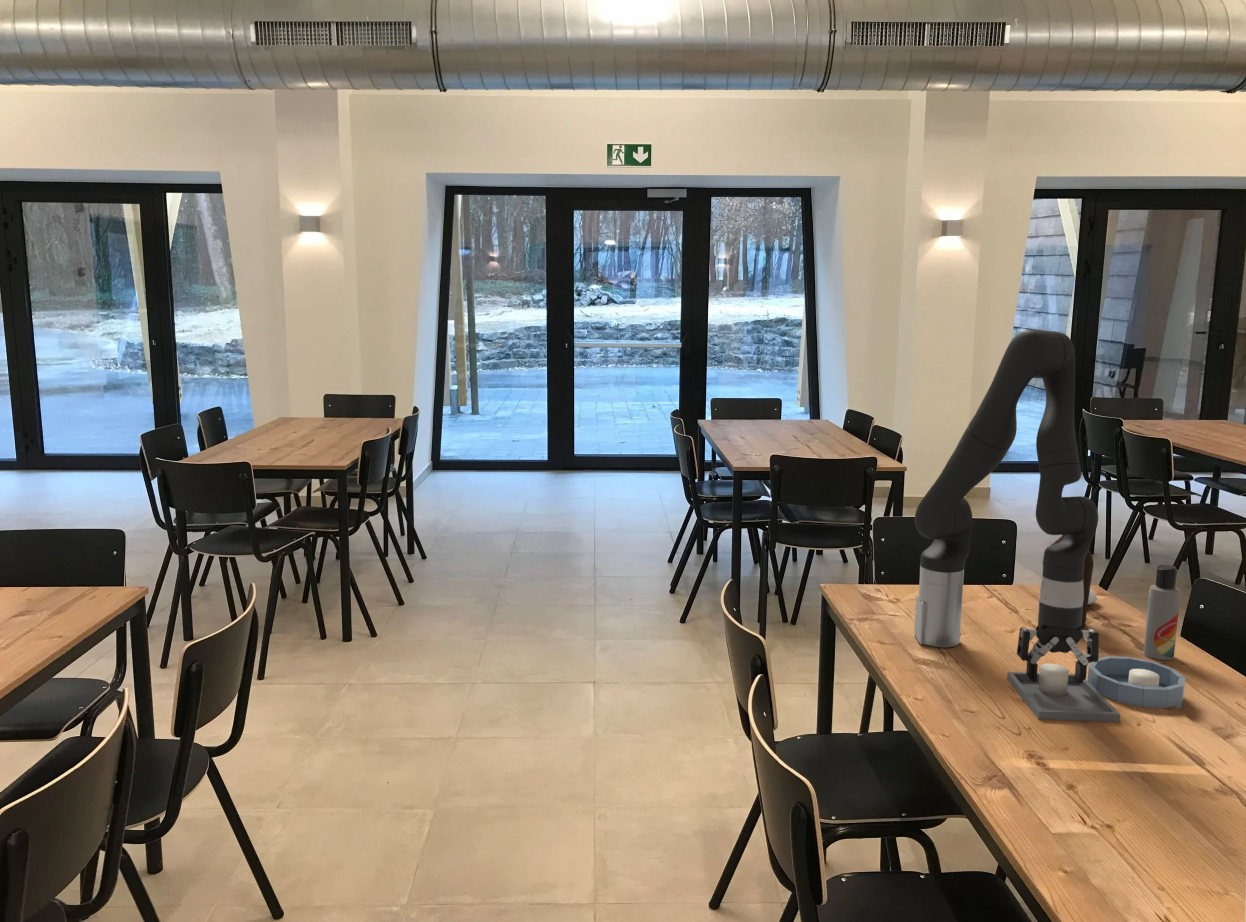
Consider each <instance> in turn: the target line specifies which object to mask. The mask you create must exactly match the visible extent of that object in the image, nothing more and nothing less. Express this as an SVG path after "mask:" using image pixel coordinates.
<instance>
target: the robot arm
mask: <svg viewBox="0 0 1246 922" xmlns="http://www.w3.org/2000/svg"><path fill="white" fill-rule="evenodd" d="M1075 353H1076V352H1075V347H1074V344H1073V342H1072V339H1071V338H1070V337H1069V336H1068V335H1067V334H1065V333H1064V332H1060V331H1056V330H1054V331H1053V330H1044V329H1025V330H1021V331H1020V332H1018V333H1017V334H1016V335H1015V336H1014V337H1013V338H1012V339H1011V340H1010V342H1009V344H1008V345H1007V348H1006V349H1005V352H1004V353H1003V356H1002V359H1001V361H1000V363H999V365H998V368H997V371H996V373H995V375H994V377H993V380H992V381H991V384H990V385H989V388H988V389H987V391H986V393H985V396H984V397H983V399H982V401H981V402H980V404H979V406H978V408H977V410H976V412H975V414H974V415H973V417H972V419H971V420H970V421H969V423H968V425H967V426H966V428H965V430H964V432H963V434H962V435H961V437H960V439H959V441H958V442H957V445H956V448H955V449H954V451H953V452H952V454H951V455H950V457H949V459H948V460H947V462H946V464H945V466H944V467H943V469H942V471H941V473H940V474H939V475H938V478H937V479H936V480H935V481H934V483H933V484H932V485H931V487H930V488H929V489H928V491H927V492H926V494H925V495H924V496H923V498H922V499H921V500H920V502H919V504H918V505H917V506H916V507H917V508H916V510H915V515H914V524H915V527H916V530H917V532H918V533H919V534H920V535H921V536H922V537H923V538H926V539H929V540H932V541H933V542H932V543H931V544H930V545H929V546H928V547H927V548H926V549H925V550H923V551H922V553H921V554H920V562H919V563H920V564H919V565H920V566H919V585H918V586H919V587H918V594H917V595H916V597H915V614H914V616H915V617H914V629H913V630H914V634H913V635H914V637H915V636H916V637H915V639H916V638H917V639H916V640H917V642H918V643H920V645H926V646H929V647H936V648H952V647H953V648H954V647H956V646H958V645H959V644H960V641H961V626H962V625H961V624H962V609H963V594H964V593H963V592H964V575H965V563H966V561H967V559H968V556H969V554H970V549H971V539H972V531H973V512H972V509H971V506H970V503H969V501H967V499H966V498H965V497H966V495H967V494H969V492H970V491H971V490H972V489H973V488H975V487H976V486H977V485H978V484H980V483H981V482H982V481H983V480H984V479H985V478H987V477H988V476H989V475H990V474H991V473H992V472H993V471H994V470H996V468H997V467H998V466H999V465H1000V464H1001V462H1002V461H1003V459H1004V458H1005V456H1006V455H1007V454H1008V451H1009V450H1010V448H1011V446H1012V445H1013V443H1014V441H1015V438H1016V436H1017V435H1016V434H1017V428H1018V427H1017V424H1018V423H1017V421H1018V420H1017V408H1018V407H1017V405H1018V402H1019V400H1020V398H1021V396H1022V394H1023V393H1024V390H1025V389H1026V388H1027V385H1028V384H1029V383H1030V381H1032V379H1042V381H1043V386H1044V390H1045V407H1044V411H1043V414H1042V418H1041V421H1040V424H1039V426H1038V429H1037V434H1036V441H1035V444H1036V445H1035V449H1036V455H1037V457H1036V458H1037V464H1038V468H1039V470H1038V471H1039V485H1038V493H1037V494H1038V495H1037V501H1036V504H1035V505H1036V506H1035V519H1036V523H1037V525H1038V527H1039V528H1040V529H1041V531H1043V532H1044V533H1045V534H1046V535H1049V536H1062V535H1065V537H1064V539H1063V540H1062V541H1061V542H1059V543H1057V544H1054V545H1051V544H1050V545H1051V546H1050V545H1049V546H1047V547H1046V548H1045V550H1044V552H1043V557H1044V559H1043V558H1042V576H1041V581H1040V587H1039V601H1038V617H1037V627H1036V628H1033V629H1032V628H1026V627H1025V626H1021V627H1020V628H1019V633H1018V640H1017V648H1016V655H1017V656H1018V657H1019V658H1020V660H1022V661H1025V662H1026V670H1025V672H1026V674H1027V676H1028V678H1029V679H1030V680H1031V681H1032V682H1036V681H1037V673H1038V667H1039V666H1038V662H1039V660H1040V659H1041V658H1042V657H1044V656H1046V655H1047V654H1048V653H1049V652H1050V653H1052V654H1053V653H1054V654H1056V653H1063V654H1068V653H1069V652H1071V653H1072V654H1073V655H1074V657H1075V658H1076V659H1077V660H1076V661H1075V665H1074V666H1075V668H1074V669H1075V670H1074V674H1075V680H1076V681H1077V682H1078V683H1083V680H1085V679H1086V680H1087V674H1088V671H1087V670H1088V666H1089V663H1091V662H1097V661H1098V659H1099V658H1100V657H1099V656H1100V655H1099V654H1100V653H1099V651H1100V650H1099V647H1100V646H1099V645H1100V644H1099V643H1100V640H1099V639H1100V638H1099V637H1100V636H1099V635H1100V634H1099V633H1098V632H1097V631H1096V630H1095V629H1093V628H1092V627H1089V628H1087V630H1086V629H1081V625H1082V611H1083V601H1084V586H1083V577H1084V563H1085V557H1086V554H1087V552H1088V550H1089V551H1090V546H1091V544H1092V541H1093V538H1094V536H1095V533H1096V531H1097V528H1098V524H1099V511H1098V507H1097V506H1096V504H1095V502H1094V501H1093V500H1091V498H1089V497H1088V496H1087V497H1086V496H1081V495H1080V496H1079V495H1077V496H1063V491H1064V487H1065V486H1069V485H1071V484H1075V483H1078V481H1080V479H1081V478H1082V470H1081V463H1080V457H1079V456H1080V455H1079V450H1078V445H1077V439H1076V438H1077V437H1076V436H1077V435H1076V427H1075V399H1076V398H1075V397H1076V396H1075V395H1076V392H1075V391H1076V385H1075V384H1076V354H1075ZM1034 637H1036V638H1037V641H1035V643H1034V644H1033V645H1032V648H1031V649H1030V648H1029V647H1030V641H1032V640H1033V639H1034ZM1083 638H1084V640H1085V641H1086V653H1085V654H1084V653H1083V651H1082V650H1081V649H1080V647H1079V646H1078V645H1077V644H1078V643H1079V642H1080V641H1081V640H1082V639H1083ZM1029 649H1030V651H1029Z"/></svg>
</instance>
